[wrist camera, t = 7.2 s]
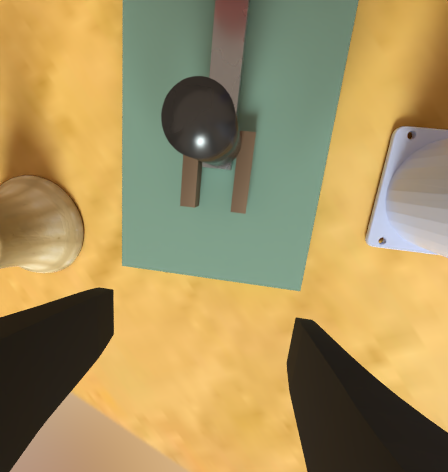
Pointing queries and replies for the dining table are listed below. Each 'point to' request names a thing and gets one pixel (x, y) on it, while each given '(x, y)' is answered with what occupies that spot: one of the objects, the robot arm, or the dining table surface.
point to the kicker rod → (211, 95)
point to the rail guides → (241, 178)
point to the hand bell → (38, 225)
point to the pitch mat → (249, 119)
